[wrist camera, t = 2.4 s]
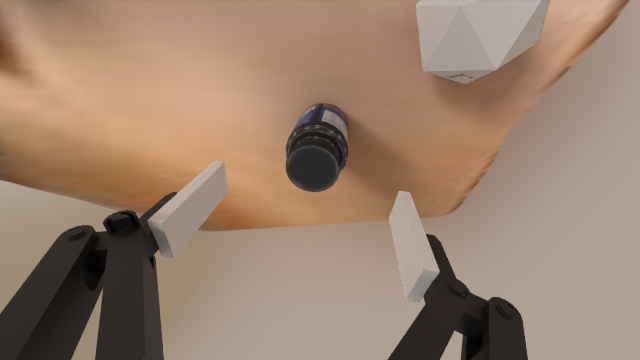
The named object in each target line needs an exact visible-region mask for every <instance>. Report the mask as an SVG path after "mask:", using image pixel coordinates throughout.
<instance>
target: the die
mask: <svg viewBox="0 0 640 360" xmlns="http://www.w3.org/2000/svg"><path fill="white" fill-rule="evenodd" d="M549 2H550V0H420V1H419V2H418V3H417V4H416V5H415V6H416V15H417V24H418V33H419V41H420V50H421V59H422V68H423V71H424V72H427V73H430V74H434V75H437V76H440V77H443V78H447V79H450V80H453V81H456V82H459V83H463V84H467V83H470V82H472V81H474V80H476V79H478V78H480V77H482V76H484V75H486V74H489V73H491V72H493V71H495V70H497V69H498V68H500V67H501V66H503V65H505V64H506V63H508V62H509V61H511V60H512V59H514V58H515V57H517V56H518V55H520V54H521V53H523V52H524V51H526V50H527V49H529V48H531V47H532V46H534V45H535V44H537V43H538V41H539V37H540V34H541V30H542V27H543V23H544V20H545V16H546V13H547V9H548V6H549Z"/></svg>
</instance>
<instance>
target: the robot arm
mask: <svg viewBox="0 0 640 360" xmlns="http://www.w3.org/2000/svg"><path fill="white" fill-rule="evenodd" d="M227 193H228V186H227V178H226V170H225V163H224V162H221V161H215V160H214V161H213V162H212V163H211V164H210V165H209V166H208V167H207V168H206V169H204V170H203V171H202V172H201V173H200V174H199V175H198V176H197V177H195V178H194V179H193V180H192V181H191V182H190V183H189V184H188V185H186V186H185V187H184V188H183V189H182V190H181V191H180V192H179V193H177V192H173V193H171V194H169V195H166V196H165V197H164V198H162V199H161V200H160V201H159V203H156V204H155V205H154V207H152V208H151V209H149V210H148V211H147V212H146V213H145V214H143V215H142V216H141V217H140V218H139V219H138V217H137V215H136V213H135V212H134V211H130V210H125V211H119V212H116V213H114V214H112V215H110V216H108V217H107V218H106V219H105V220H104V221H103V225H104V226H105V228H106V230H107V231H104V232H96V231H95V230H94V228H93V227H92V226H89V225H81V226H77V227H74V228H72V229H69V230H67V231H65V232H64V233H62V234H61V235H60V236H59V237H58V238H57V240H56V241H55V242H54V244H53V245H52V246H51V247H50V249H49V250H48V251H47V253H46V254H45V255H44V257H43V258H42V260H41V261H40V262H39V263H38V265H37V266H36V267H35V269H34V270H33V271H32V273H31V274H30V275H29V277H28V278H27V279H26V281H25V282H24V283H23V285H22V286H21V287H20V289H19V290H18V291H17V293H16V294H15V295H14V296H13V298H12V299H11V300H10V302H9V303H8V304H7V306H6V307H5V308H4V310H3V311H2V312H1V314H0V360H71V358H72V356H73V354H74V351H75V349H76V347H77V345H78V342H79V340H80V338H81V336H82V333H83V331H84V329H85V327H86V325H87V322H88V320H89V318H90V315H91V313H92V311H93V309H94V307H95V304H96V302H97V300H98V298H99V295H100V293H101V291H102V289H103V295H102V304H101V313H100V322H99V331H98V339H97V348H96V357H95V360H164V356H163V344H162V332H161V320H160V309H159V308H160V307H159V296H158V283H157V273H156V260H155V256H154V254H155V253H156V252H157V251H158V250H159V251H160V253H161V256H164V257H169V258H175V257H176V256H177V255H178V253H179V252H180V251H181V250H182V249H183V247H184V246H185V245H186V244H187V242H188V241H189V239H191V237H192V236H193V235H194V233H195V232H196V231H197V230H198V229H199V227H200V226H201V225H202V224H203V222H204V221H205V220H206V219H207V218H208V216H209V215H210V214H211V213H212V211H213V210H214V209H215V208H216V206H217V205H218V204H219V203H220V201H221V200H222V199H223V198H224V196H225V195H226V194H227ZM389 223H390V227H391V232H392V237H393V242H394V247H395V252H396V256H397V261H398V266H399V271H400V276H401V281H402V286H403V291H404V295H405V300H408V301H414V302H420V301H421V299H422V298H423V296H424V300H425V303H426V304H425V306H424V307H423V309H422V310H421V312H420V313H419V315H418V316H417V318H416V319H415V320H414V322H413V324H412V325H411V326H410V328H409V329H408V331H407V332H406V334H405V335H404V336H403V338H402V339H401V341H400V342H399V344H398V345H397V347H396V348H395V350H394V351H393V353H392V354H391V356H390V357H389V359H388V360H440V358H441V356H442V354H443V352H444V350H445V348H446V346H447V344H448V342H449V340H450V338H451V336H452V334H453V332H454V330H455V331H457V332H459V333H461V334H463V341H462V352H461V360H528V357H527V350H526V342H525V335H524V329H523V328H524V327H523V320H522V317H521V315H520V313H519V312H518V310H517V309H516V308H515V307H514V306H513V305H512V304H511V303H509V302H508V301H506V300H504V299H502V298H499V297H493V298H491V299H490V300H489V301H487V300H485V299H482V298H480V297H478V296H476V295H474V294H472V293H470V291H469V290H468V288H467V287H466V285H464V284H463V283H462V282H461V281H459V280H458V279H456V277H455V274H454V272H453V270H452V267H451V265H450V263H449V260H448V258H447V257H446V254H445V251H444V249H443V247H442V244H441V242H440V241H439V240H438V239H437V238H436V237H435V236H434V235H429V234H425V231H424V228H423V226H422V223H421V221H420V218H419V215H418V213H417V210H416V207H415V205H414V202H413V199H412V197H411V194H410V192H406V191H400V190H399V192H398V195H397V198H396V200H395V203H394V206H393V208H392V211H391V214H390V216H389Z"/></svg>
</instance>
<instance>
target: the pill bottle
mask: <svg viewBox="0 0 640 360" xmlns="http://www.w3.org/2000/svg"><path fill="white" fill-rule="evenodd" d="M286 157H287V161H286V173H287V175H288V177H289V179H290V180H291V182H292V183H293V184H295V185H296V186H297V187H298V188H300V189H303V190H305V191H310V192H319V191H324V190H326V189H328V188H330V187H331V186H332V185H333V184H334V183H335V182H336V180H337V179H338V176H339V172H341V170H342V169H343V168H344V166H345V164H346V161H347V157H348V124H347V120H346V118H345V116H344V114H343V113H342V112H341V111H340V110H339V109H338V108H337V107H335V106H333V105H330V104H316V105H313V106H311V107H309V108H308V109H307V110H306V111H305V112H304V113H303V115H302V116H301V118H300V120H299V121H298V123H297V125H296V127H295V128H294V130H293V132H292V133H291V135H290V137H289V139H288V141H287V145H286Z"/></svg>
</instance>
